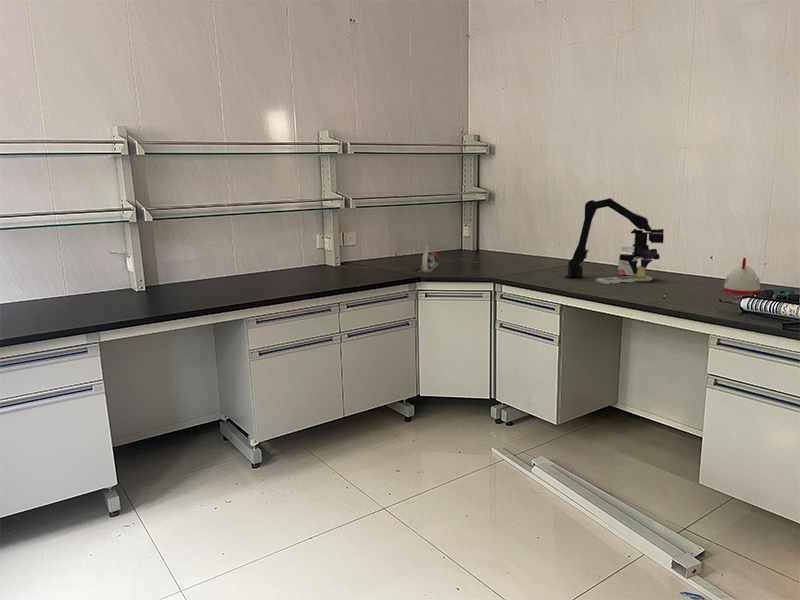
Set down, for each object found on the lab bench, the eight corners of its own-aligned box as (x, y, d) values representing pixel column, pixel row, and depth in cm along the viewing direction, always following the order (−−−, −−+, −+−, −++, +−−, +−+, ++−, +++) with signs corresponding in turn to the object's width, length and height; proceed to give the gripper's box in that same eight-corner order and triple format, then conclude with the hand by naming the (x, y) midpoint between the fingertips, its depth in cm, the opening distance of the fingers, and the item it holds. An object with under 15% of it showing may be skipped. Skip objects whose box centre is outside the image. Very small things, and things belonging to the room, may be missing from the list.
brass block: (637, 279, 292) (638, 267, 291) (632, 278, 296) (633, 266, 294) (644, 279, 293) (645, 267, 291) (639, 277, 297) (640, 265, 295)
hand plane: (417, 273, 332) (417, 246, 329) (427, 264, 362) (427, 240, 359) (429, 273, 331) (429, 246, 328) (439, 264, 360) (438, 240, 357)
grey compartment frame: (604, 283, 286) (604, 280, 286) (595, 281, 294) (595, 277, 294) (652, 280, 292) (652, 277, 291) (642, 278, 299) (642, 274, 299)
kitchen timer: (721, 292, 261) (725, 259, 257) (725, 287, 272) (728, 255, 269) (758, 295, 253) (762, 261, 250) (760, 290, 264) (764, 256, 261)
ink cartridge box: (617, 275, 309) (619, 247, 306) (619, 274, 313) (621, 246, 310) (634, 276, 304) (636, 248, 301) (636, 275, 308) (638, 247, 305)
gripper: (633, 245, 281) (631, 277, 284) (667, 243, 285) (665, 275, 288) (619, 242, 292) (618, 274, 295) (653, 241, 295) (651, 272, 299)
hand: (638, 273), depth 294 cm, fingers closed on brass block, 4 cm apart
